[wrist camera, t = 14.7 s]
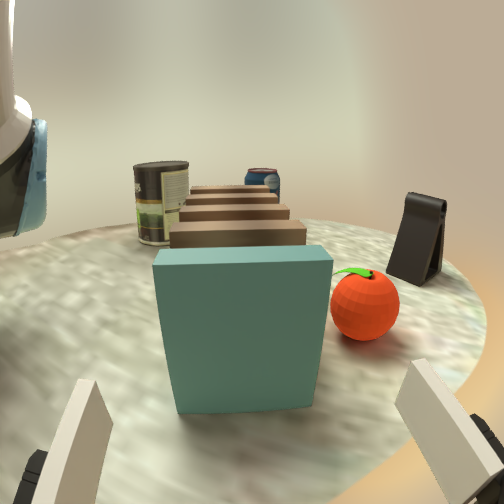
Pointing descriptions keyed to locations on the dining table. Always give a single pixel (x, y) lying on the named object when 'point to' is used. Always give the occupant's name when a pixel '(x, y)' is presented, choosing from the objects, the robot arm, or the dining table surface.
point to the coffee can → (159, 198)
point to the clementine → (364, 304)
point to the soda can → (264, 179)
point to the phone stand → (419, 239)
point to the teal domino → (242, 325)
